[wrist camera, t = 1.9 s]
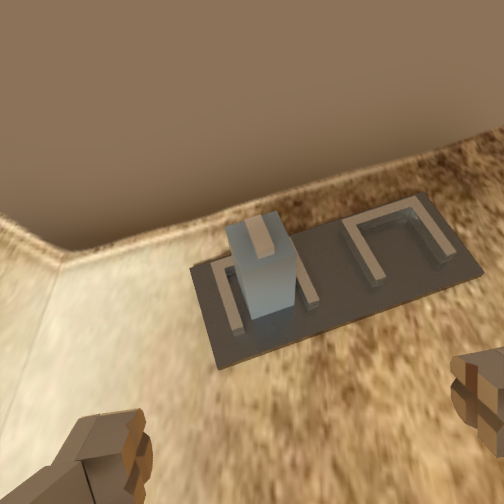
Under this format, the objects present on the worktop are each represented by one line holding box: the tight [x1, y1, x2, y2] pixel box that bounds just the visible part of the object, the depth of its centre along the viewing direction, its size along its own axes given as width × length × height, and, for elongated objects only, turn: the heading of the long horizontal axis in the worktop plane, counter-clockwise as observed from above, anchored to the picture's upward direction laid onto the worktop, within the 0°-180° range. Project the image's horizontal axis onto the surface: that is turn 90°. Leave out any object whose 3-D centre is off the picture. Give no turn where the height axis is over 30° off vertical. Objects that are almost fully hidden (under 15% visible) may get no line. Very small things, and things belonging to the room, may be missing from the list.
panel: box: [189, 192, 485, 370], centre depth 34 cm, size 25×10×2 cm, turn 109°
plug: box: [225, 210, 297, 320], centre depth 30 cm, size 4×4×10 cm
